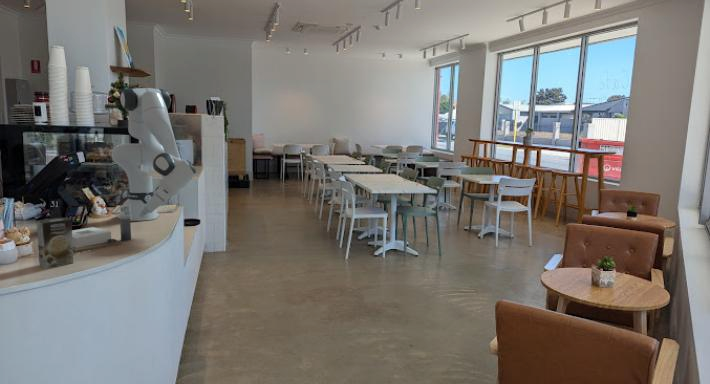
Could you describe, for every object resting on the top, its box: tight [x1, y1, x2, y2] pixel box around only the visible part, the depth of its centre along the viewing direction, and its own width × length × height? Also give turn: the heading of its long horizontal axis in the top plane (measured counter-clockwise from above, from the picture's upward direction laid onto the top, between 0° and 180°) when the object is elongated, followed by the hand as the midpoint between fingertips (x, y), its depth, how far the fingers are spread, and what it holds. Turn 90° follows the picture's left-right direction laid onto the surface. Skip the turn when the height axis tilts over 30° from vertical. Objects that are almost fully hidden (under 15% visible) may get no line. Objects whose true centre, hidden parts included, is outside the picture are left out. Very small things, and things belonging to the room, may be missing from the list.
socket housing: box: [72, 226, 112, 248], centre depth 198 cm, size 14×14×4 cm
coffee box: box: [36, 217, 74, 269], centre depth 170 cm, size 9×6×16 cm
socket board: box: [73, 238, 122, 254], centre depth 199 cm, size 22×18×2 cm
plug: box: [119, 216, 132, 242], centre depth 206 cm, size 4×4×10 cm
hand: (141, 214), depth 207 cm, fingers open, 8 cm apart
